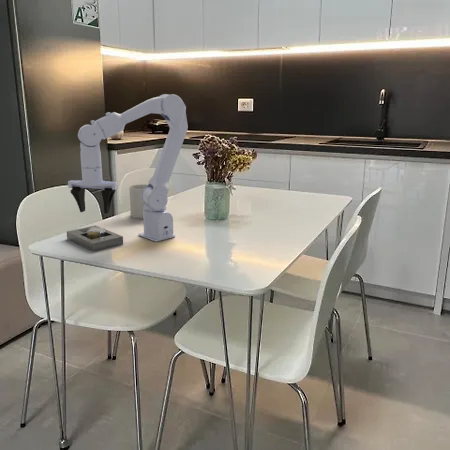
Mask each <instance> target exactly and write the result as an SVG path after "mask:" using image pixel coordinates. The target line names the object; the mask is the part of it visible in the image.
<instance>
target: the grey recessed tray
mask: <svg viewBox="0 0 450 450" xmlns="http://www.w3.org/2000/svg"><path fill="white" fill-rule="evenodd" d="M92 227H95V228H102V227H100V226H98V225H92V226H86V227H82V228H77V229H72V230H67V231H66V239H67V240H68V241H70V242H73V243H75V244H77V245H79V246H81V247H82V248H83V247H84V248H86V249H87V250H89V251H92V252H97V251H100V250H105V249H108V248H113V247H116V246H120V245H124V236H123V235H121V234H117V233H115V232H113V231H111V230H108V229H106V228H105V237H101V238H96V239H92V240H91V239H89V238H88V236H87V231H88V230H89V229H91V228H92Z"/></svg>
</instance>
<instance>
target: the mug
mask: <svg viewBox="0 0 450 450" xmlns="http://www.w3.org/2000/svg"><path fill="white" fill-rule="evenodd" d="M147 185H148V184H134V185H133V184H132V185H130V186H129V203H130V204H129V205H130V207H129V209H130V216H131V218H134V219H143V207H144V205H145V202H144V201H143V200H142V196H141V194H142V191H143V189H144V188H145V187H146V186H147Z"/></svg>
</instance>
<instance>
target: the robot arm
mask: <svg viewBox="0 0 450 450" xmlns="http://www.w3.org/2000/svg"><path fill="white" fill-rule="evenodd" d="M186 109H187V105H186V104H185V103H184V101H183V99H182V98H181V97H180V96H179V95H177V94H174V93H172V94H167V93H163V94H161V95H159V96H156V97H152V98H149V99H146V100H145V101H143V102H141V103H139V104H137V105H135V106H133V107H131V108H130V109H127V110H125V111H123V112H122V113H117V112H115V111H113V112H109V111H107V112H106V113H105V116H102V117H100V118H98V119H96V120H94V119H93V120H90V124H84V125H82V126H81V127H79V130H78V132H77V138H78V140H79V141H80V142H79V144H80V145H79V149H80V156H79V157H80V166H81V180H78V179H75V180H74V179H73V180H72V179H71V180H68V181H67V186H68V189H70V194H71V195H72V197H73V198H74V200H75V202H76V204H77V206H78V209H79V212H80V213H84V212H86V201H85V197H86V189H98V190H99V189H100V190H101V191H100V193H101V195H102V200H103V201H102V202H103V211H104V214H105V215H106V214H108V213H110V209H111V204H112V200H113V197H114V195H115V193H116V191H117V189H118V188H119V187H118V186H119V185H118V182H117V181H108V180H103V168H102V167H103V165H102V164H103V163H102V153H101V148H100V147H101V146H100V143H101V141H102V140H107V139H108V138H110V137H113V136H115V135H117V134H118V133H121V132H122V131H124V130H125V126H126V125H127V124H129V123H132V122H134V121H136V120H138V119H140V118H142V117H145V116H147V115H150V114H157V115H160V116H162V117H163V118H164V119H165V121H166V123H167V125H168V128H169V129H168V130H169V131H168V134H167V136H166V137H165V138H166V139H165V142H164V144H163V147H162V150H161V153H160V155H159V159H158V161H157V164H156V167H155V169H154V173H153V175H152V177H151V178H150V179H149V180H148V183H147V184H146V185H147V186H146V187H145V188H144V189H143V191H142V194H141V196H142V200H143V201H144V202H145V205H144V207H143V218H142V219H143V232H140V233H138V236H139V237H142V238H145V239H148V240H151V241H153V242H160V241H163V240H167V239H168V240H169V239H171V238H176V234H174V218H173V216H172V214H171V213H170V212H169V211H168V210H167V204H168V202H169V201H168V200H169V199H168V193H169V190H170V187H169V181H170V179H171V176H172V173H173V171H174V168H175V165H176V163H177V160H178V157H179V154H180V151H181V149H182V147H183V143H184V140H185V138H186V135H187V133H188V129H189V128H188V127H189V126H188V119H187V113H186V112H187V110H186ZM102 189H103V190H102Z"/></svg>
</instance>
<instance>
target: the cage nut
mask: <svg viewBox="0 0 450 450" xmlns="http://www.w3.org/2000/svg"><path fill="white" fill-rule="evenodd" d="M105 229H106V228H105V227H101V228H95V227H92V228H91V229H89V230H88V231H87V236H88V238H89V239H91V240H92V239H96V238H101V237H105Z"/></svg>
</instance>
